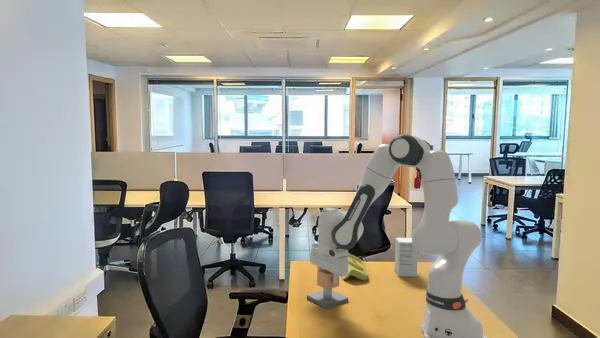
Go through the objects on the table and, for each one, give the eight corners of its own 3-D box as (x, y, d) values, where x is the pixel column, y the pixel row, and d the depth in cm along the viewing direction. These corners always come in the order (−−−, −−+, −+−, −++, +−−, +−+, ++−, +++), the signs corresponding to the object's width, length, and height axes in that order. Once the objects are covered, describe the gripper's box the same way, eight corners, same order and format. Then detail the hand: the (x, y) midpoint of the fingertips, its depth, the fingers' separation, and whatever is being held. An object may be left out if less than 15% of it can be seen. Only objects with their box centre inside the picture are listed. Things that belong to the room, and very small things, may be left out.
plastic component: (369, 276, 194) (350, 267, 193) (361, 290, 195) (342, 281, 195) (363, 260, 214) (346, 251, 213) (356, 272, 215) (339, 264, 214)
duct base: (348, 301, 171) (348, 283, 171) (325, 308, 164) (326, 290, 164) (328, 292, 181) (329, 275, 180) (306, 298, 174) (307, 280, 173)
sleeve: (339, 286, 172) (339, 271, 171) (327, 289, 168) (327, 275, 167) (328, 281, 177) (329, 267, 176) (317, 284, 173) (317, 270, 173)
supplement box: (417, 277, 201) (418, 242, 199) (397, 276, 201) (399, 242, 199) (412, 270, 210) (414, 237, 208) (394, 270, 210) (395, 237, 209)
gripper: (306, 242, 177) (306, 274, 179) (339, 254, 161) (338, 289, 162) (318, 240, 181) (317, 271, 182) (351, 252, 165) (350, 286, 166)
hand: (327, 280), depth 172 cm, fingers closed on sleeve, 6 cm apart
